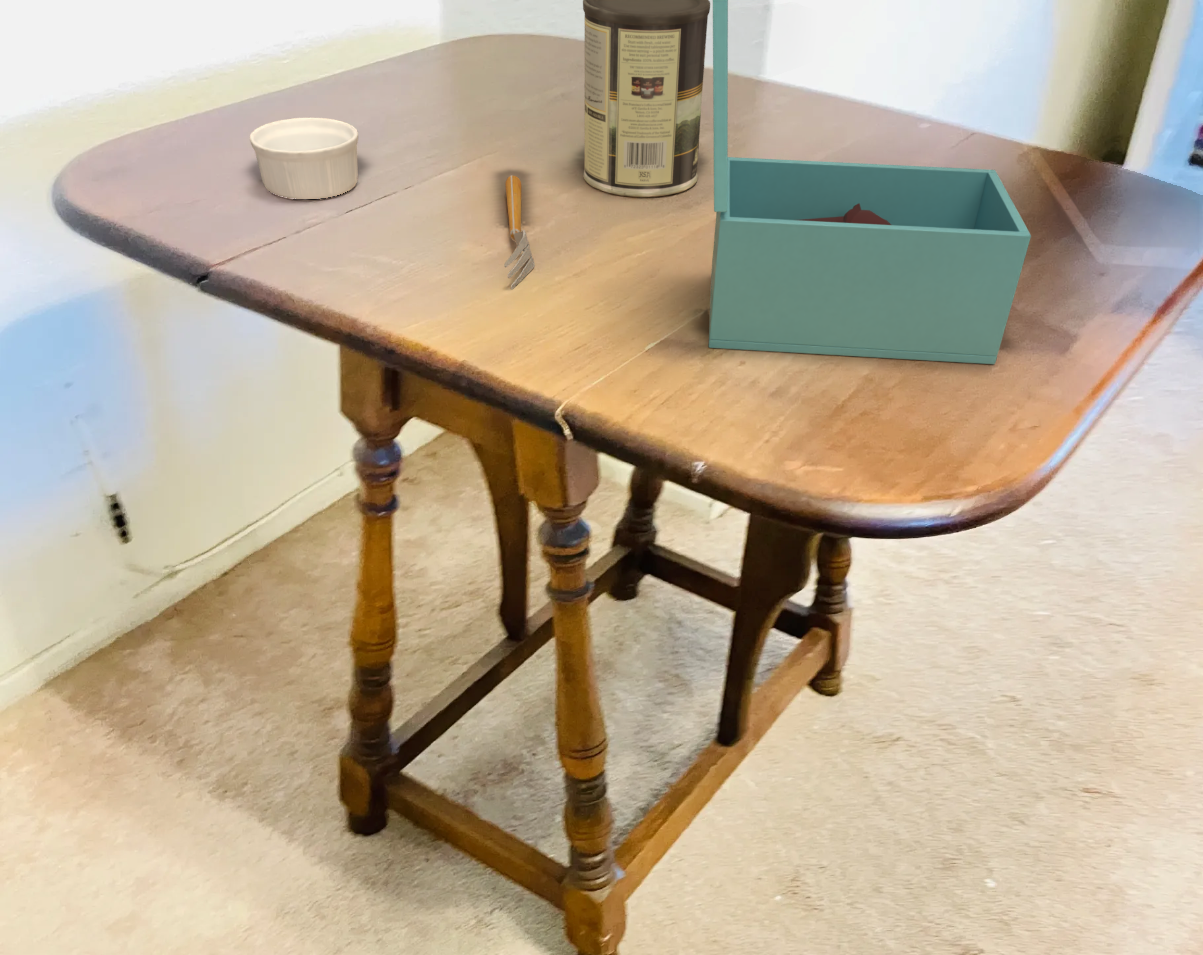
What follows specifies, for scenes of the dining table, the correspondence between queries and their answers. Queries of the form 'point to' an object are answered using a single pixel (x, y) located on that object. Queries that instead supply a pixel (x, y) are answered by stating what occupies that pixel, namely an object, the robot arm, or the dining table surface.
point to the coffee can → (643, 94)
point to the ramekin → (307, 157)
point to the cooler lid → (720, 103)
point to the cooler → (865, 261)
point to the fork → (517, 231)
